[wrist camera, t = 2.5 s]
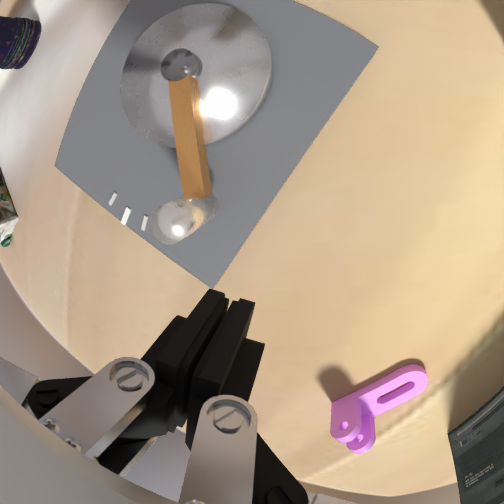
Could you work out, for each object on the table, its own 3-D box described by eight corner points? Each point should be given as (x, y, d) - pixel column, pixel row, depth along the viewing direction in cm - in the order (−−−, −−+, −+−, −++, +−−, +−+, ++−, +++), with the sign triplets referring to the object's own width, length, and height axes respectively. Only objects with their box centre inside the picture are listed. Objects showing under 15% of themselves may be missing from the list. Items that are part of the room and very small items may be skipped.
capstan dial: (129, 40, 20) (76, 19, 13) (261, -3, 17) (237, -52, 9) (151, 222, 27) (97, 250, 19) (293, 209, 23) (280, 237, 16)
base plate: (165, -26, 18) (156, -33, 16) (374, 53, 18) (379, 45, 16) (65, 163, 30) (53, 166, 28) (219, 280, 30) (211, 290, 28)
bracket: (351, 418, 34) (351, 457, 27) (331, 401, 33) (329, 442, 26) (430, 378, 28) (442, 417, 22) (417, 356, 28) (430, 397, 21)
